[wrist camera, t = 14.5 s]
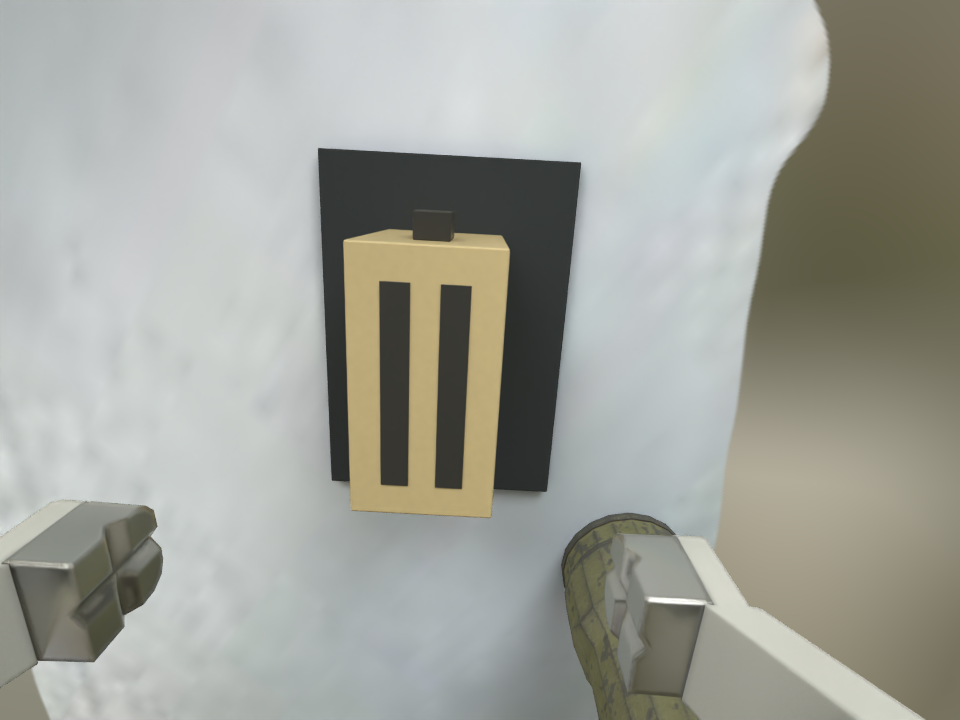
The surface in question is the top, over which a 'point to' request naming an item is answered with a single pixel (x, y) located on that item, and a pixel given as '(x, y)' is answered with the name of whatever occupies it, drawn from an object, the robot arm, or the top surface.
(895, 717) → the robot arm
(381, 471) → the toaster
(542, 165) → the mat
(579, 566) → the thermos
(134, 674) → the top surface
